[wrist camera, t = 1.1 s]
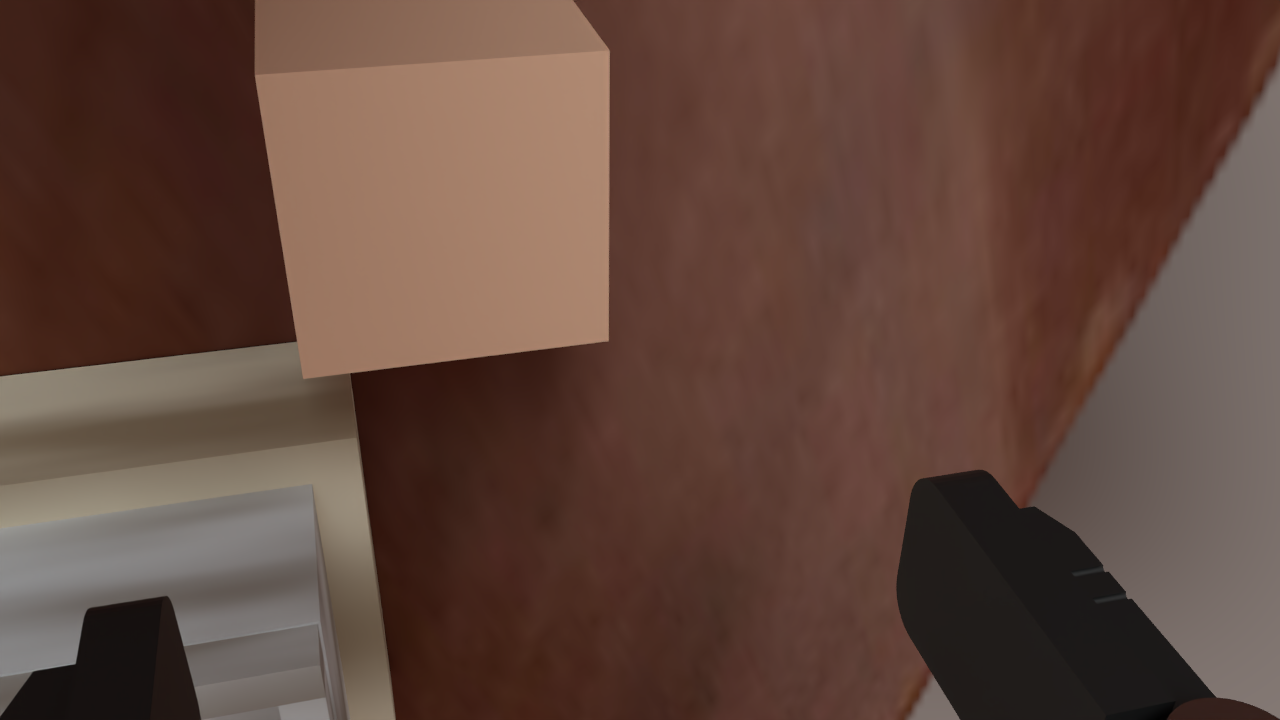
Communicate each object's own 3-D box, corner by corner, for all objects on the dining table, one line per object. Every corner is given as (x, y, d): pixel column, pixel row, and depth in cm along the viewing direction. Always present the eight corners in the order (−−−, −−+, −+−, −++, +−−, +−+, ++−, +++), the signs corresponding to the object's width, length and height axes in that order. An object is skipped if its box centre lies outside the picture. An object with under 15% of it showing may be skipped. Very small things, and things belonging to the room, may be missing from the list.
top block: (255, -31, 23) (254, 75, 18) (539, -46, 24) (609, 50, 20) (294, 228, 26) (303, 379, 21) (546, 204, 27) (608, 341, 23)
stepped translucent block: (-196, 399, 25) (-380, 735, 18) (345, 335, 28) (376, 610, 20) (-44, 752, 31) (-136, 1113, 24) (390, 674, 34) (427, 980, 26)
